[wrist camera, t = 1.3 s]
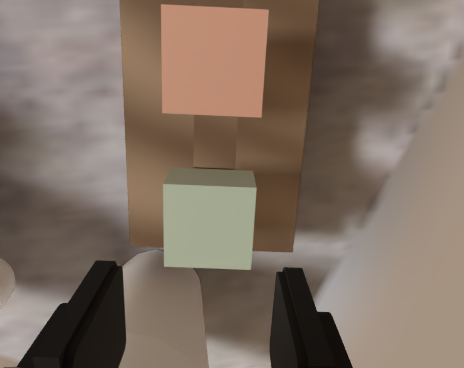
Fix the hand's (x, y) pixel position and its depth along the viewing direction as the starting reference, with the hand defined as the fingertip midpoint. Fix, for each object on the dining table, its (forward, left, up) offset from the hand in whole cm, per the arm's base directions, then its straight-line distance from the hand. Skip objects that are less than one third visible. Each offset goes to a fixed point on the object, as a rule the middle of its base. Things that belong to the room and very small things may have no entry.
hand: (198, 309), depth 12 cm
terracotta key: (-7, 0, -11) cm, 13 cm away
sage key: (0, 0, -11) cm, 11 cm away
